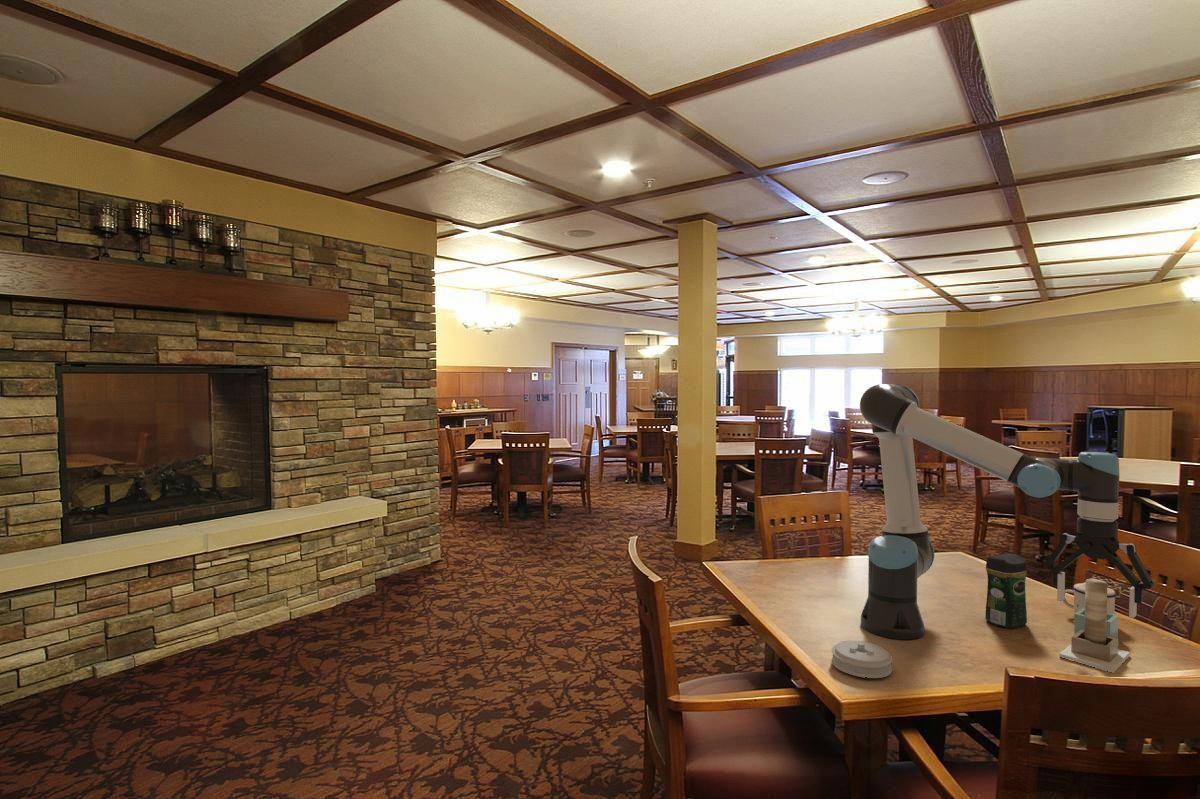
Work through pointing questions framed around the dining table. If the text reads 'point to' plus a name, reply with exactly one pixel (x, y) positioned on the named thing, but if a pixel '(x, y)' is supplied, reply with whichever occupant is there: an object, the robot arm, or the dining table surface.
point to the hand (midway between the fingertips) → (1095, 607)
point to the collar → (1094, 647)
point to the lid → (861, 659)
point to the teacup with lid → (1080, 598)
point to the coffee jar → (1006, 590)
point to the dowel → (1095, 611)
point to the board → (1095, 662)
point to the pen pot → (1110, 625)
